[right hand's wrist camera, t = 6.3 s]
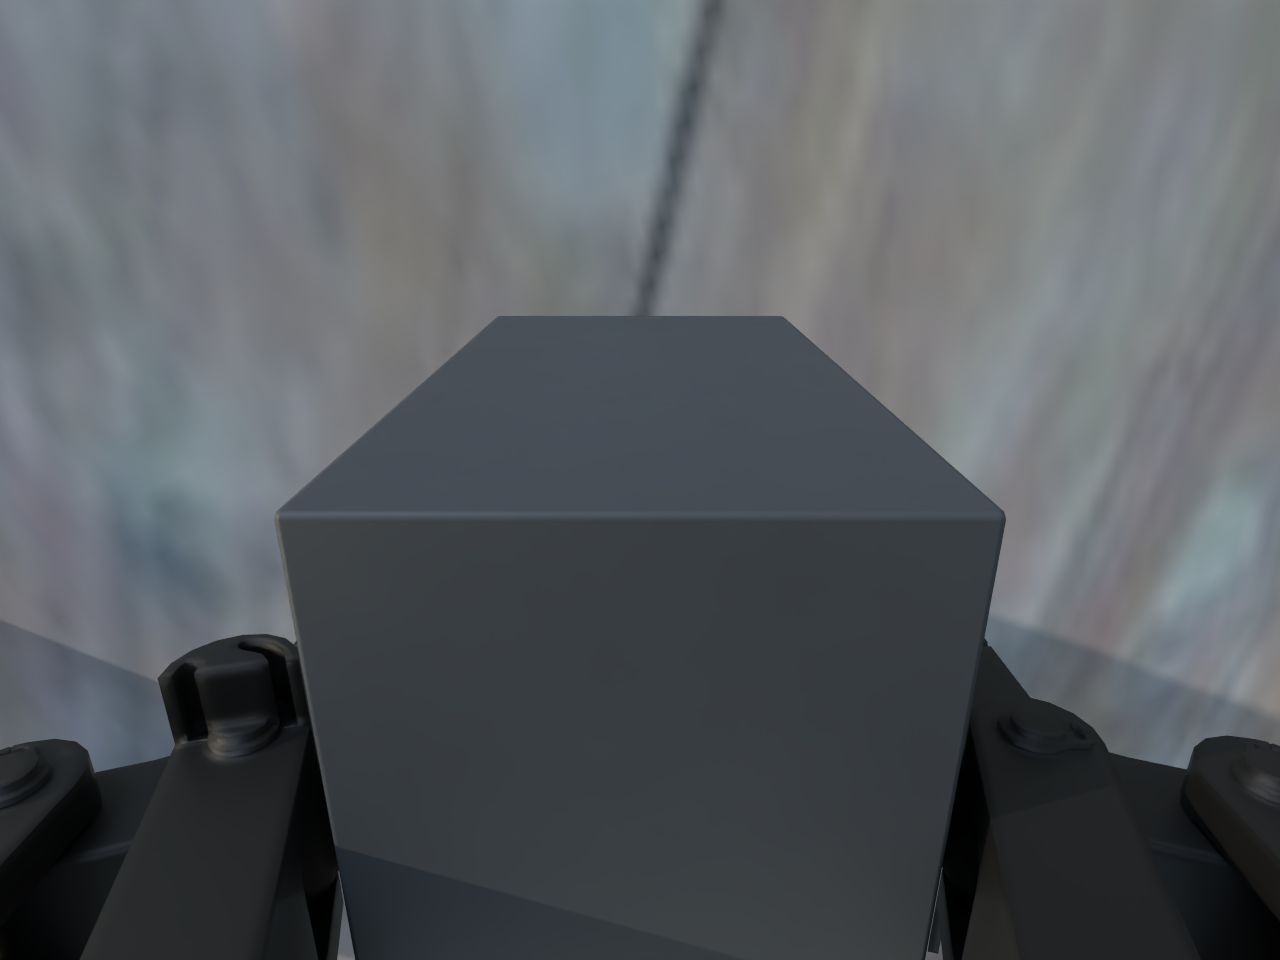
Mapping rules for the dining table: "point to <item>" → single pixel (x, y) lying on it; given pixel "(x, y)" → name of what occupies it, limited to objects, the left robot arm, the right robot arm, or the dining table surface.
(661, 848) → the bar
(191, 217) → the dining table surface
